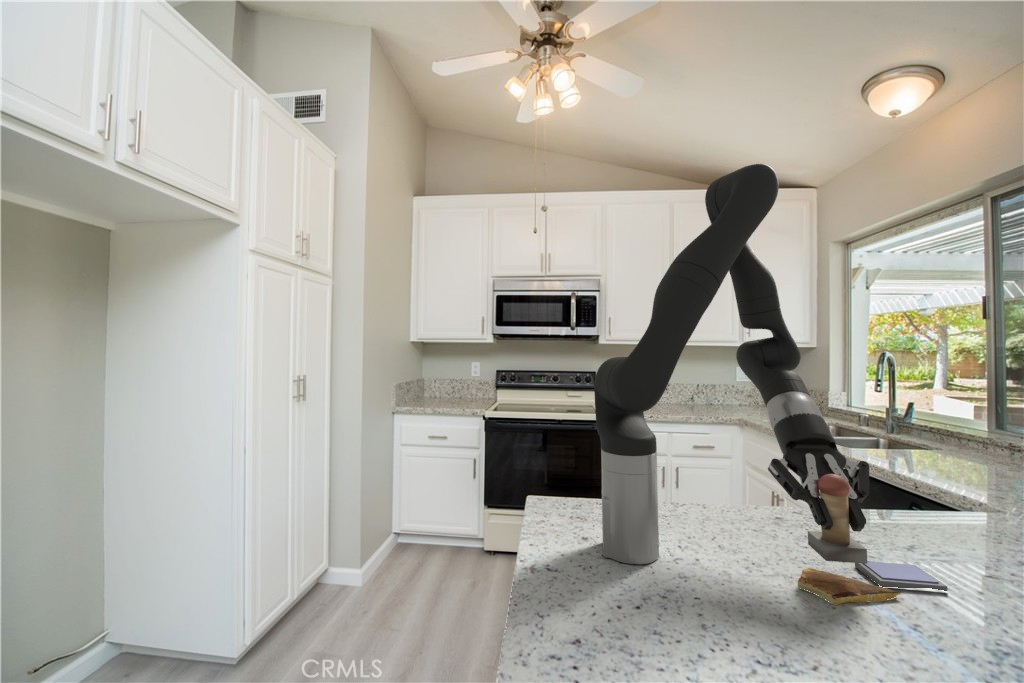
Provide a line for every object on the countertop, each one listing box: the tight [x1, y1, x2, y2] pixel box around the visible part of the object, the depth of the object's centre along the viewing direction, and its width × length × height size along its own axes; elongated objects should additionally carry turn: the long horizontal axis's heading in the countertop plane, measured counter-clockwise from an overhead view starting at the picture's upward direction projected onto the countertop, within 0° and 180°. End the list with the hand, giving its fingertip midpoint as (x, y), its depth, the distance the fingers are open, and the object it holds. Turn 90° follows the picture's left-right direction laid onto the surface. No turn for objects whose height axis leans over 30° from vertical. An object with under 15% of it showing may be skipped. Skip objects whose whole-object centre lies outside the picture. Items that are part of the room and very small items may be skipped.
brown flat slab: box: [797, 567, 902, 606], centre depth 57 cm, size 11×8×2 cm
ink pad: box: [854, 560, 949, 591], centre depth 61 cm, size 8×6×1 cm
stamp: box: [807, 474, 868, 564], centre depth 60 cm, size 5×5×11 cm
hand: (843, 527), depth 58 cm, fingers closed on stamp, 3 cm apart
